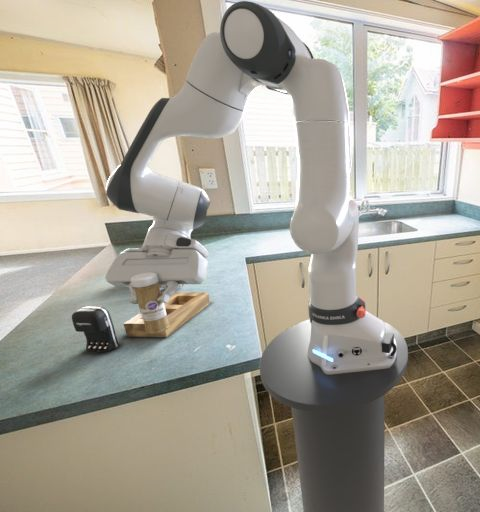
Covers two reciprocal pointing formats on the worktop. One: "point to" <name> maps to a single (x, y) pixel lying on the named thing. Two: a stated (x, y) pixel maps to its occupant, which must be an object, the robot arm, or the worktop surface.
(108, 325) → the battery charger
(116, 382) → the worktop surface
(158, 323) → the sprinkles bottle
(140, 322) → the socket block
